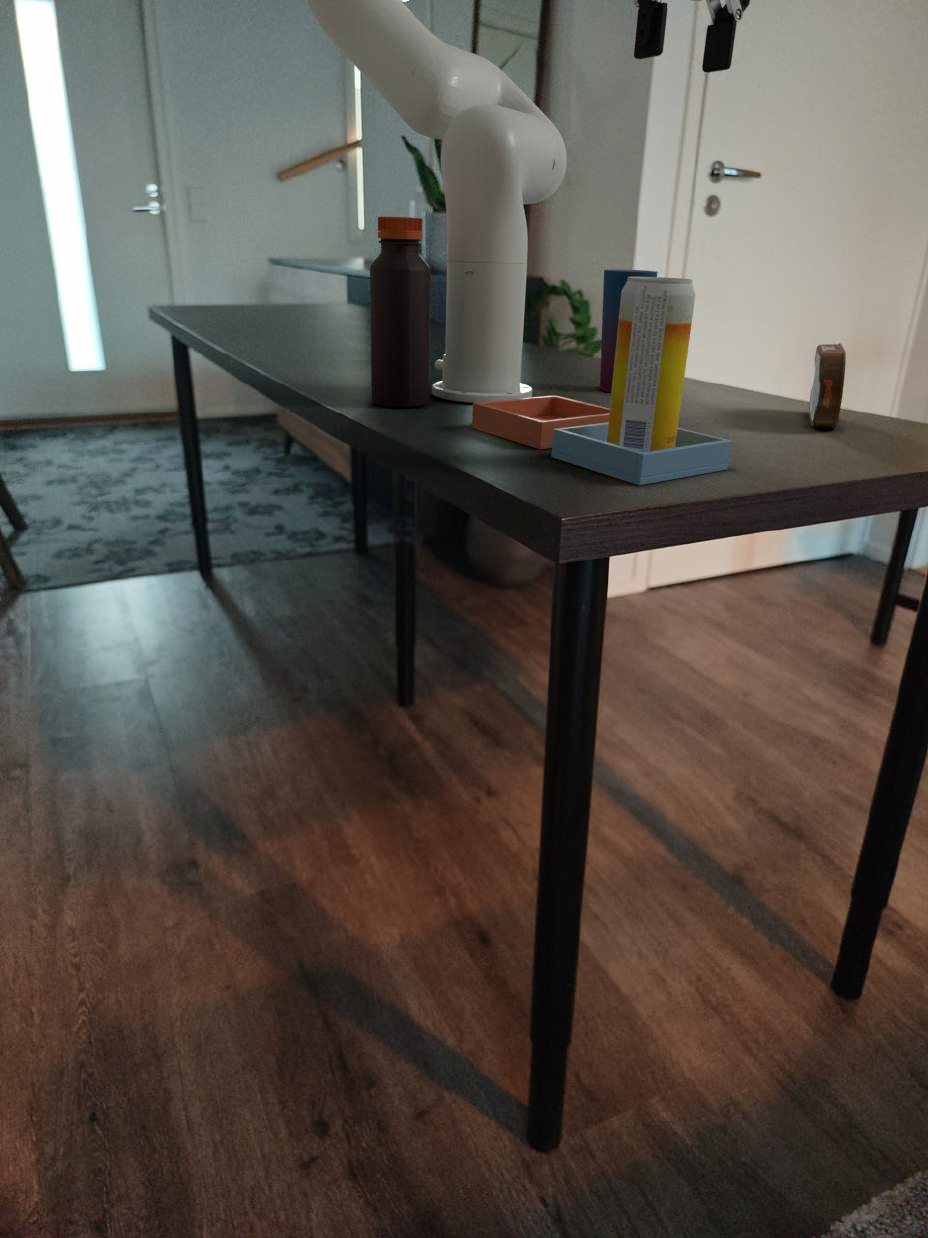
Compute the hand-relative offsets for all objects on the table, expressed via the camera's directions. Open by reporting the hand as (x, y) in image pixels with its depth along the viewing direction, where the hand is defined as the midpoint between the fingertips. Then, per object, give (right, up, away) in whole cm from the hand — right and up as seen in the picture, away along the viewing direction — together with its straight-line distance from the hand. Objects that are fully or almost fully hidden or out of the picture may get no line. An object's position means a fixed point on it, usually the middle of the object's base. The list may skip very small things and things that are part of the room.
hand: (682, 63), depth 83 cm
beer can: (-5, -40, -6) cm, 40 cm away
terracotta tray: (-13, -35, +5) cm, 37 cm away
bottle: (-29, -29, +18) cm, 45 cm away
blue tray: (-6, -40, -6) cm, 41 cm away
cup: (0, -23, +32) cm, 40 cm away
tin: (+20, -31, +16) cm, 40 cm away
